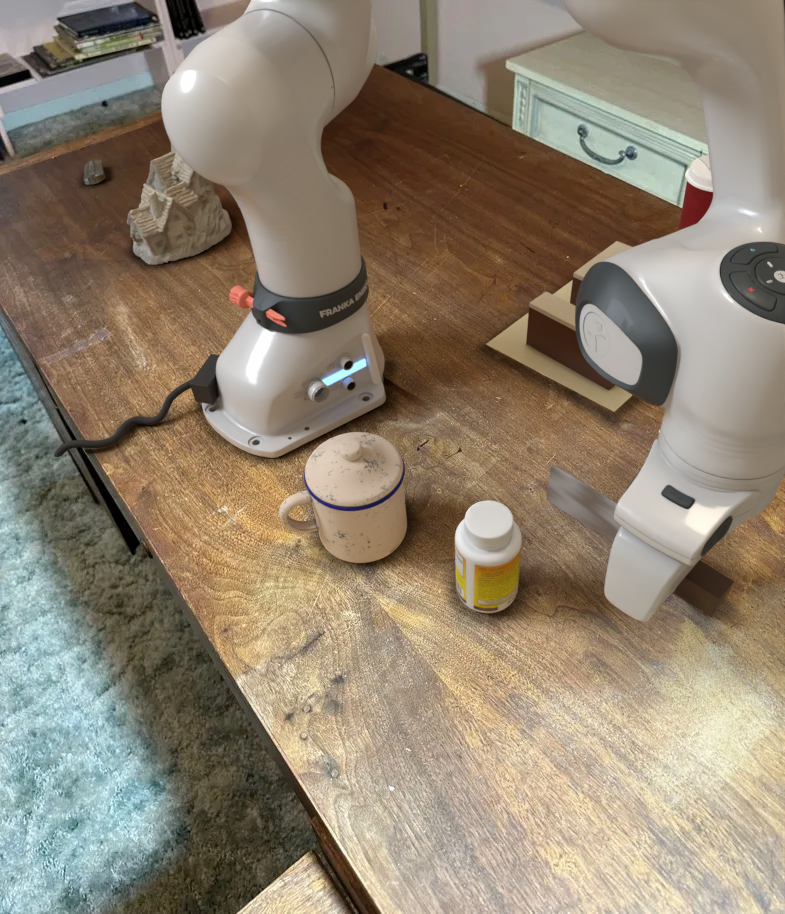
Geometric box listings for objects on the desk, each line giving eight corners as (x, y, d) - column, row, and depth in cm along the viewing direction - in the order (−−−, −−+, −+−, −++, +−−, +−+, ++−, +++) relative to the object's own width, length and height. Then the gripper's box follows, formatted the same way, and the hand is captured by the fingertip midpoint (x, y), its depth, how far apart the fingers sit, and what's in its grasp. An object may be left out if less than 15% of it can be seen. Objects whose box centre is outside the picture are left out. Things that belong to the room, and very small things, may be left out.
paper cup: (728, 286, 98) (759, 183, 88) (666, 283, 99) (689, 180, 89) (723, 253, 103) (752, 152, 93) (664, 250, 104) (685, 150, 94)
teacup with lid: (392, 483, 79) (384, 399, 70) (422, 550, 72) (417, 467, 64) (279, 516, 77) (256, 434, 68) (300, 588, 70) (278, 508, 62)
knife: (725, 600, 66) (741, 567, 62) (710, 618, 64) (726, 585, 61) (554, 491, 75) (559, 457, 71) (539, 506, 74) (543, 472, 70)
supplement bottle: (530, 586, 69) (538, 515, 62) (491, 627, 66) (495, 558, 59) (481, 553, 72) (483, 482, 64) (442, 592, 69) (440, 521, 62)
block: (104, 167, 133) (101, 157, 132) (107, 182, 129) (103, 172, 128) (83, 171, 133) (79, 161, 131) (85, 186, 129) (81, 176, 127)
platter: (613, 418, 83) (614, 411, 82) (485, 350, 92) (485, 344, 92) (720, 319, 93) (722, 312, 93) (596, 267, 103) (597, 261, 102)
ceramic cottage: (204, 193, 124) (175, 101, 112) (248, 238, 114) (221, 143, 103) (114, 230, 120) (74, 139, 108) (152, 281, 110) (112, 186, 99)
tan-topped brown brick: (608, 390, 85) (616, 348, 80) (525, 344, 91) (529, 302, 87) (625, 377, 86) (634, 335, 81) (542, 332, 92) (546, 291, 88)
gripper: (746, 372, 62) (706, 484, 72) (600, 519, 53) (579, 624, 63) (823, 406, 59) (771, 518, 69) (683, 570, 50) (646, 672, 60)
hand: (678, 570), depth 66 cm, fingers closed on knife, 2 cm apart
